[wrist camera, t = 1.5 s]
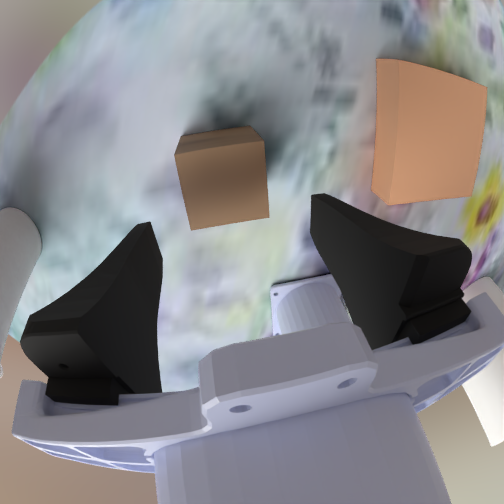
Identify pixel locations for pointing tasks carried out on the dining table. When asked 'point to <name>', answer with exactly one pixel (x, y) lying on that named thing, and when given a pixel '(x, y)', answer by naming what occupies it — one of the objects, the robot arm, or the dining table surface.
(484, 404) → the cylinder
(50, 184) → the dining table surface
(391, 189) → the terracotta plinth
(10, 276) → the coffee cup
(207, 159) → the walnut block
